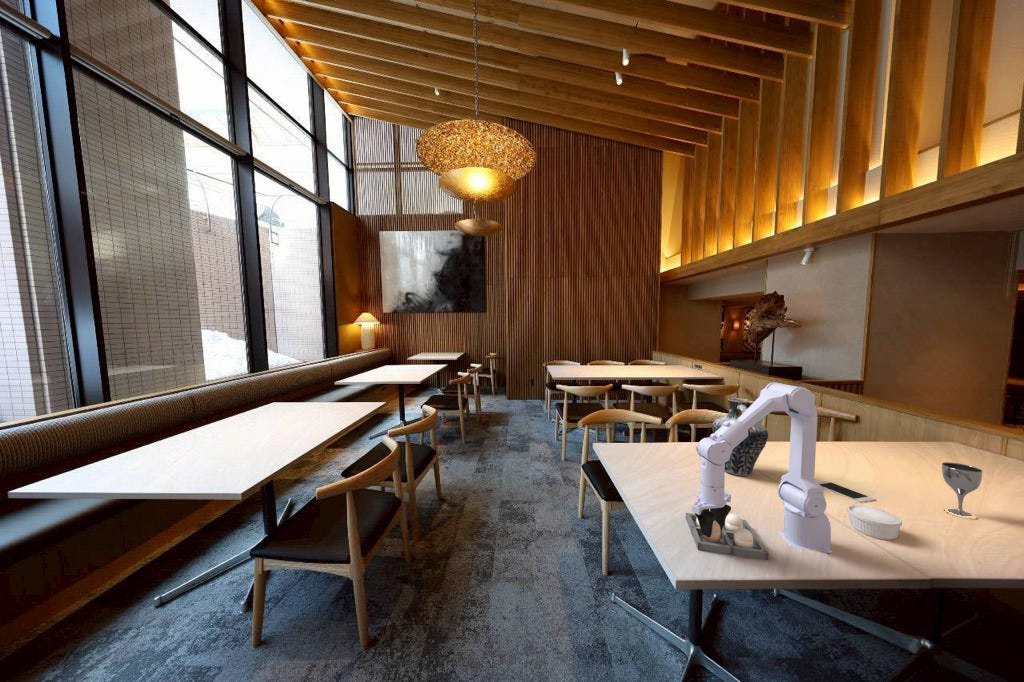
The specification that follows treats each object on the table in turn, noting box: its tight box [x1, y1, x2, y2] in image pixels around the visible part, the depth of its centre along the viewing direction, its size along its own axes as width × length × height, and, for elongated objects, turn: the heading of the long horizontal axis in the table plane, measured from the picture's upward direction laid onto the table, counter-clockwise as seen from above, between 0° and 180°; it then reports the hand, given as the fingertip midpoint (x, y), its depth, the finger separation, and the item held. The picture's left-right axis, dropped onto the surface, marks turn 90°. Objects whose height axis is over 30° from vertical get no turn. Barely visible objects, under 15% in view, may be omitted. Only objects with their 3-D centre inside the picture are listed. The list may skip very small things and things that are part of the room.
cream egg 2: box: [734, 528, 753, 549], centre depth 95 cm, size 4×4×5 cm
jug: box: [711, 397, 769, 477], centre depth 146 cm, size 21×19×30 cm
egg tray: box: [685, 512, 770, 561], centre depth 100 cm, size 16×16×2 cm
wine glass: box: [941, 461, 983, 516], centre depth 113 cm, size 8×8×15 cm
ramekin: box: [846, 504, 903, 541], centre depth 104 cm, size 11×11×5 cm
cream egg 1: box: [725, 513, 743, 531], centre depth 103 cm, size 4×4×5 cm
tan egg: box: [702, 520, 721, 543], centre depth 98 cm, size 4×4×5 cm
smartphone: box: [817, 480, 877, 504], centre depth 129 cm, size 7×15×1 cm, turn 13°
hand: (711, 532), depth 98 cm, fingers closed on tan egg, 4 cm apart
